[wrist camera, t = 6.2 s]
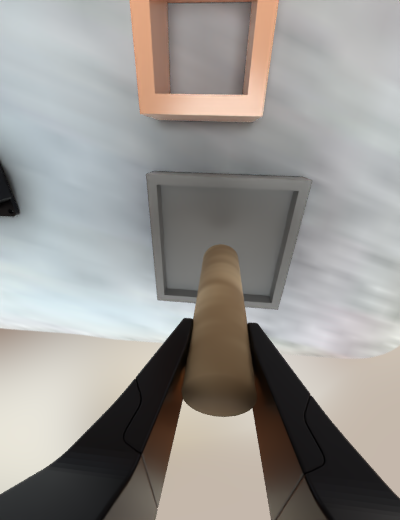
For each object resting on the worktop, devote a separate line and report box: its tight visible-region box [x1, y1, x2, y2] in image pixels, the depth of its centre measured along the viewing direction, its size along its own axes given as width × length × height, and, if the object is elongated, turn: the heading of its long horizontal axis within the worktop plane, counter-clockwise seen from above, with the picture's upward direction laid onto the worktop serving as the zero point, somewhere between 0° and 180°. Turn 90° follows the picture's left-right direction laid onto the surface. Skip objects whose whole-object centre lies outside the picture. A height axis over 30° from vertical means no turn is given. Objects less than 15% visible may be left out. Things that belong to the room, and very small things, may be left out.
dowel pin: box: [182, 244, 257, 417], centre depth 11 cm, size 2×2×9 cm
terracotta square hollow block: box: [130, 0, 279, 122], centre depth 13 cm, size 7×7×4 cm
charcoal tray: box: [146, 171, 312, 310], centre depth 21 cm, size 13×13×2 cm
